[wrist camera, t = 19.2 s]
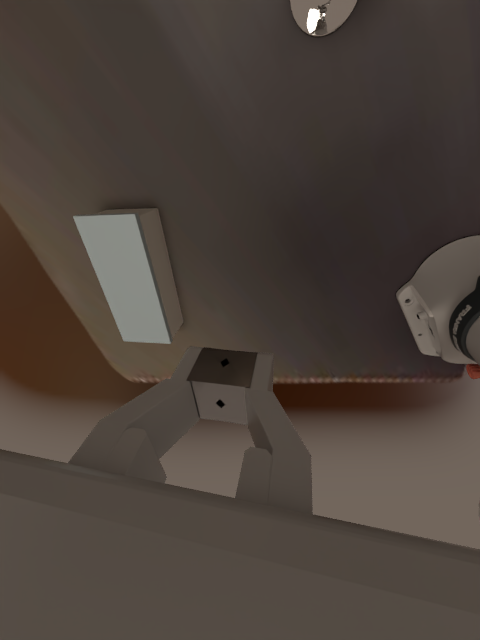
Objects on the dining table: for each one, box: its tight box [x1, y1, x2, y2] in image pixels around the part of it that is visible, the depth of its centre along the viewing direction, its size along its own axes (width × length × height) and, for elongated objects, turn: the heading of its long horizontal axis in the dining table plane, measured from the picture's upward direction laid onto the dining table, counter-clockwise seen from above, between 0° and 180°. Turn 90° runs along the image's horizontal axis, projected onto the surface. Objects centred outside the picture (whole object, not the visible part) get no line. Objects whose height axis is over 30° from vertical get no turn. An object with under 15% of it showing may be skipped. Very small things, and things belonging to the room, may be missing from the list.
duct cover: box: [73, 213, 173, 344], centre depth 46 cm, size 11×25×1 cm, turn 3°
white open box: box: [96, 208, 184, 338], centre depth 49 cm, size 10×24×6 cm, turn 3°
